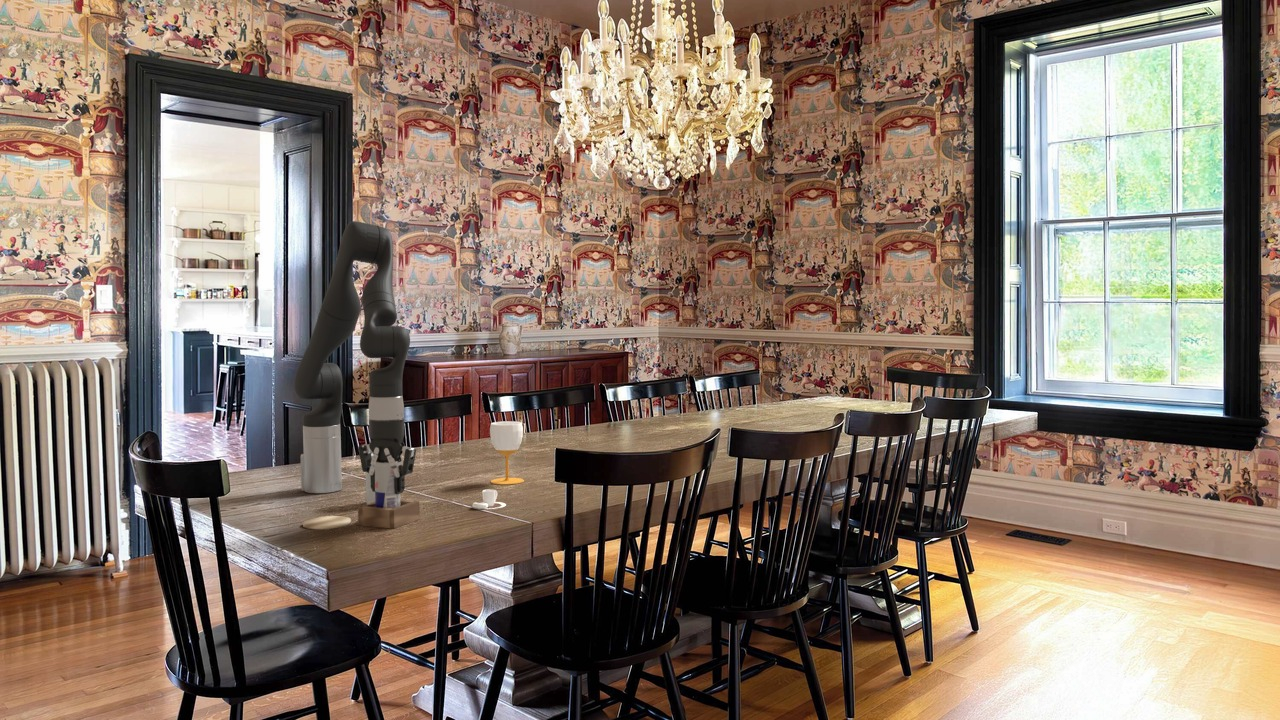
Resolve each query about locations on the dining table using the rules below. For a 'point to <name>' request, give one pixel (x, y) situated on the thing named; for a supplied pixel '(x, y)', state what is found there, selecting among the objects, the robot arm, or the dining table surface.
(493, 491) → the teacup and saucer
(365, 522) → the walnut holder
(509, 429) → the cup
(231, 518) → the dining table surface
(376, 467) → the energy drink
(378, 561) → the dining table surface
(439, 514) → the dining table surface
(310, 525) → the cork coaster
